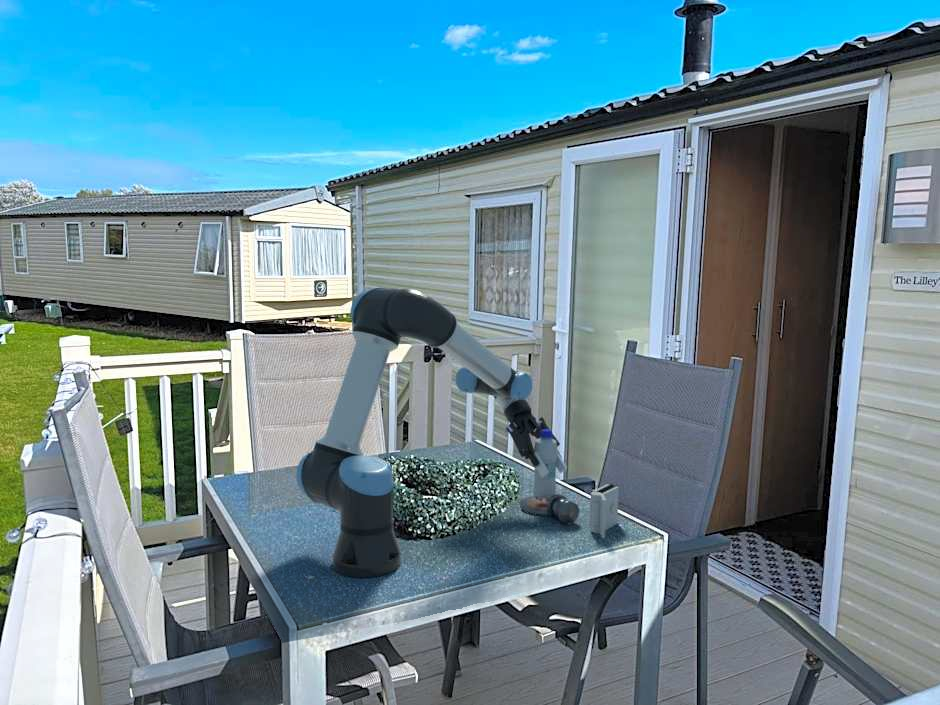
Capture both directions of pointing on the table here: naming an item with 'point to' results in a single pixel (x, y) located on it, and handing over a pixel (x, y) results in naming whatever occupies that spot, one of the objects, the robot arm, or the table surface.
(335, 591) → the table surface
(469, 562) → the table surface
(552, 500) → the fitting
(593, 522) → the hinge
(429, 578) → the table surface
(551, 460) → the bottle
